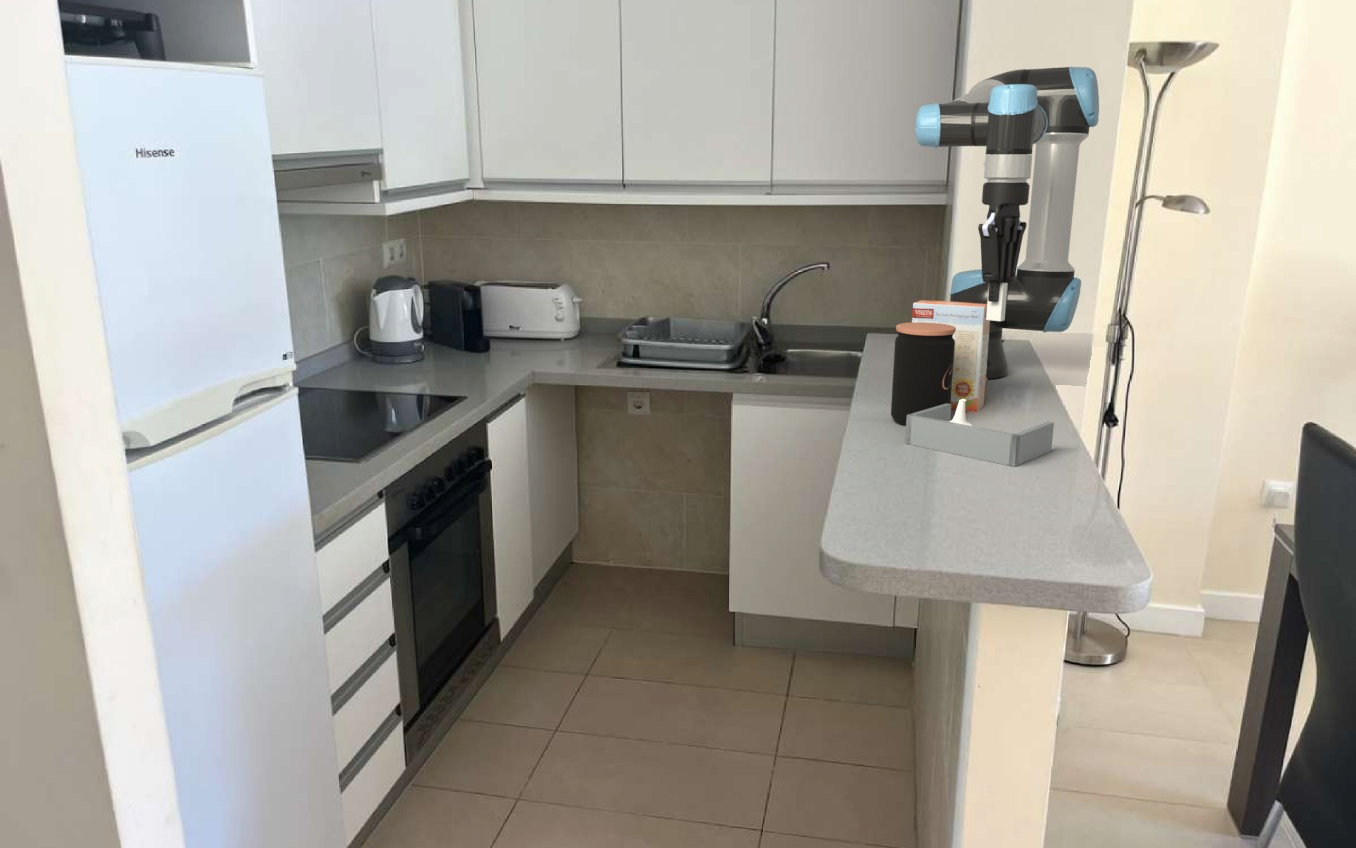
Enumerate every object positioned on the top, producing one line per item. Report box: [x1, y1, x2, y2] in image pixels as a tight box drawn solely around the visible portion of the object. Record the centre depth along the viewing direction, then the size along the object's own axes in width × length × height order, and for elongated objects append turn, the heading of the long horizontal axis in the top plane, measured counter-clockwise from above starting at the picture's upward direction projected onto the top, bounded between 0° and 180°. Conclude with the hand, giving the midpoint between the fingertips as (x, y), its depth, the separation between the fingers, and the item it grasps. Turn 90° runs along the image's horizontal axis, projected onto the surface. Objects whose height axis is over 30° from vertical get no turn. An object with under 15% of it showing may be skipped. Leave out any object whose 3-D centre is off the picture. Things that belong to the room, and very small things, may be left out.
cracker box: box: [911, 299, 990, 413], centre depth 196 cm, size 14×6×21 cm, turn 60°
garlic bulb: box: [949, 399, 974, 426], centre depth 171 cm, size 6×6×8 cm
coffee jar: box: [890, 322, 956, 427], centre depth 185 cm, size 11×11×18 cm
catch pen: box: [904, 403, 1055, 468], centre depth 169 cm, size 13×20×5 cm, turn 45°
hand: (995, 319), depth 174 cm, fingers closed
